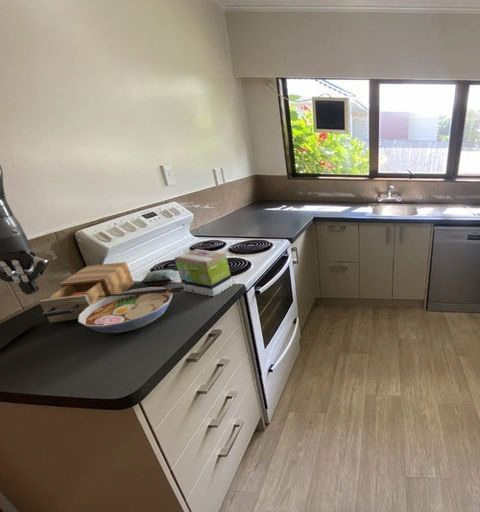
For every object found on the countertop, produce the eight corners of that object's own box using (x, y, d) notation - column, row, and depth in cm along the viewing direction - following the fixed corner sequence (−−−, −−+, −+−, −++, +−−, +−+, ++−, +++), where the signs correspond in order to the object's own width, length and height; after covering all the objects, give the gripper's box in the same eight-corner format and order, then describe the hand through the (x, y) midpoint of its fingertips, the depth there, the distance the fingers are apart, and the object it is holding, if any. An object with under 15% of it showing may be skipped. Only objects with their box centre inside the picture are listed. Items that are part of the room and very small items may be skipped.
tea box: (183, 292, 112) (172, 257, 106) (205, 280, 120) (196, 248, 115) (213, 297, 107) (204, 261, 102) (234, 285, 116) (226, 252, 111)
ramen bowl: (60, 351, 80) (47, 327, 77) (117, 307, 101) (109, 287, 98) (159, 342, 84) (150, 319, 81) (194, 302, 105) (188, 282, 102)
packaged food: (151, 278, 122) (148, 268, 120) (182, 275, 125) (179, 265, 123) (140, 288, 114) (136, 277, 113) (174, 285, 117) (170, 274, 115)
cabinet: (114, 302, 105) (104, 278, 101) (70, 307, 101) (59, 283, 97) (134, 283, 118) (126, 262, 115) (96, 287, 115) (87, 265, 111)
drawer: (86, 323, 91) (76, 302, 88) (39, 330, 88) (27, 308, 85) (116, 295, 107) (109, 276, 104) (78, 300, 104) (70, 281, 101)
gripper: (44, 227, 79) (71, 283, 85) (-21, 232, 75) (12, 290, 82) (22, 235, 72) (53, 295, 79) (-50, 241, 69) (-12, 303, 75)
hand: (32, 292), depth 80 cm, fingers closed
